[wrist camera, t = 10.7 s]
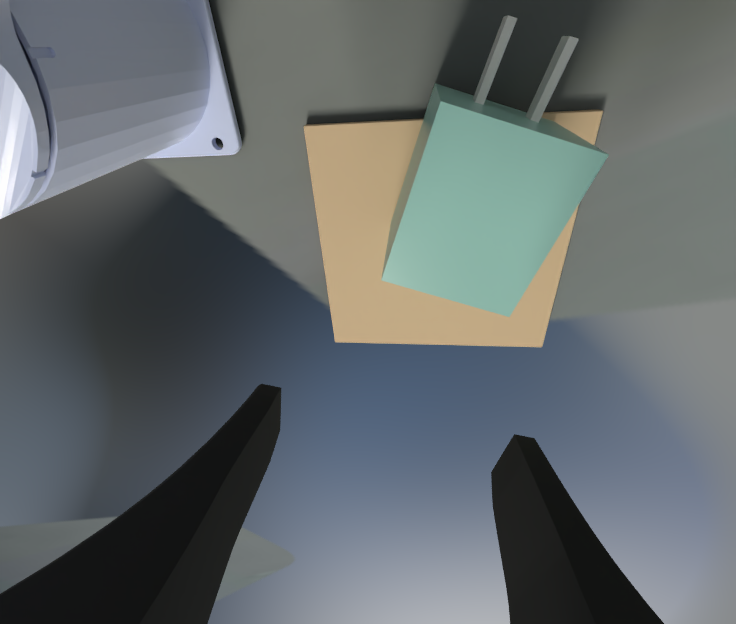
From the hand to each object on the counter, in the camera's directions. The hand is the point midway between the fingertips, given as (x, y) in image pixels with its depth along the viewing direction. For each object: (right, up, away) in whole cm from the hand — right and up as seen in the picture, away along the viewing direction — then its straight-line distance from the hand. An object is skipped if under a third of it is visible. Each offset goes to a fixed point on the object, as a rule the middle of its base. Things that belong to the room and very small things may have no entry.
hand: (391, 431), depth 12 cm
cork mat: (+3, +7, +7) cm, 11 cm away
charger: (+4, +11, +4) cm, 12 cm away
